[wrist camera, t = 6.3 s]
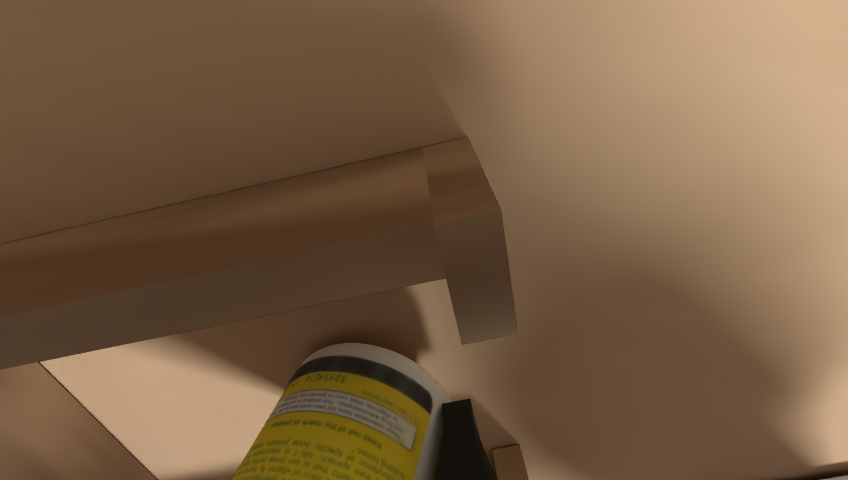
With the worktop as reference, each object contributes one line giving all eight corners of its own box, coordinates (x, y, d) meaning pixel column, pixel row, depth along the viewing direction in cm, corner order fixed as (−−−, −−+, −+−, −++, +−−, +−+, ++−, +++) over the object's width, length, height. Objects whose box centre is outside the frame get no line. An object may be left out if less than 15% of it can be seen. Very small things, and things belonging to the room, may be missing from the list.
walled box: (525, 481, 16) (553, 593, 13) (189, 538, 17) (144, 653, 14) (467, 137, 9) (500, 209, 6) (-104, 268, 10) (-319, 386, 7)
